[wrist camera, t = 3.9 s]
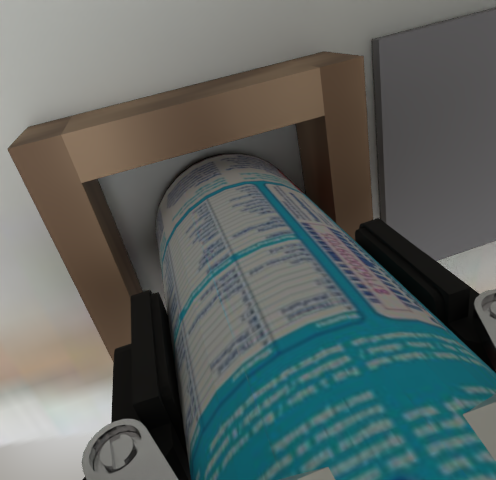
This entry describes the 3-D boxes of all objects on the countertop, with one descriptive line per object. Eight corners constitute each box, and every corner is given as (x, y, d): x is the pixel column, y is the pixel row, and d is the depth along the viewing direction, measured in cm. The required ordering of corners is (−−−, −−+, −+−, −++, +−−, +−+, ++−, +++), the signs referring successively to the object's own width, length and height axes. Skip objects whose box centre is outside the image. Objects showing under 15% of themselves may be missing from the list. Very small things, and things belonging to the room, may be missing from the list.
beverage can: (210, 300, 19) (380, 850, 6) (122, 208, 16) (112, 886, 4) (315, 225, 19) (717, 648, 6) (245, 116, 16) (739, 495, 3)
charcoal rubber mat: (609, -22, 18) (621, -23, 17) (564, 210, 23) (573, 214, 23) (371, 39, 16) (379, 39, 16) (383, 272, 22) (388, 277, 21)
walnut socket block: (324, 51, 16) (363, 56, 13) (347, 284, 21) (378, 319, 19) (28, 126, 14) (7, 148, 12) (133, 356, 20) (135, 406, 17)
